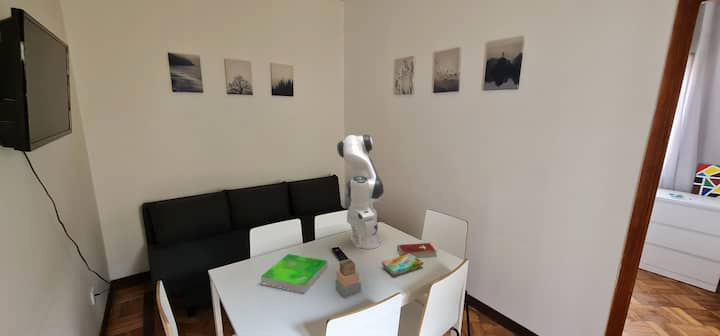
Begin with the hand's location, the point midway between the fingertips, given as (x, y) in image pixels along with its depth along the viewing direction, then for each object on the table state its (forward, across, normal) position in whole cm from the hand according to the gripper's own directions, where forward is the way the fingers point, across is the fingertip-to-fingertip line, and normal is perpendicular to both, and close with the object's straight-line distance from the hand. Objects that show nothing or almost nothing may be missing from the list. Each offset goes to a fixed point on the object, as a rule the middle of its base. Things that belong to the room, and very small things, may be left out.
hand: (359, 237), depth 143 cm
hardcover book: (+26, -10, +47) cm, 55 cm away
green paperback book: (+27, -24, -24) cm, 44 cm away
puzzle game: (+26, -1, +29) cm, 39 cm away
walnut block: (+16, +1, -7) cm, 17 cm away
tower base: (+26, +1, -7) cm, 27 cm away
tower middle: (+21, +1, -7) cm, 22 cm away
